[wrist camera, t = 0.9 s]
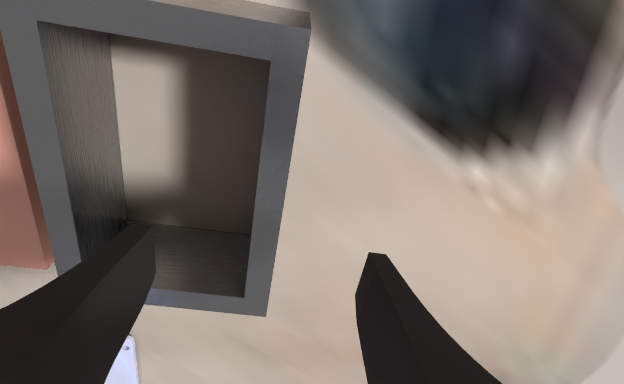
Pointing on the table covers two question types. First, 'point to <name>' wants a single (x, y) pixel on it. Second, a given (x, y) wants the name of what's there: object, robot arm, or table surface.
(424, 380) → the robot arm
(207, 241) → the gray open box
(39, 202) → the board
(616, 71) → the table surface
